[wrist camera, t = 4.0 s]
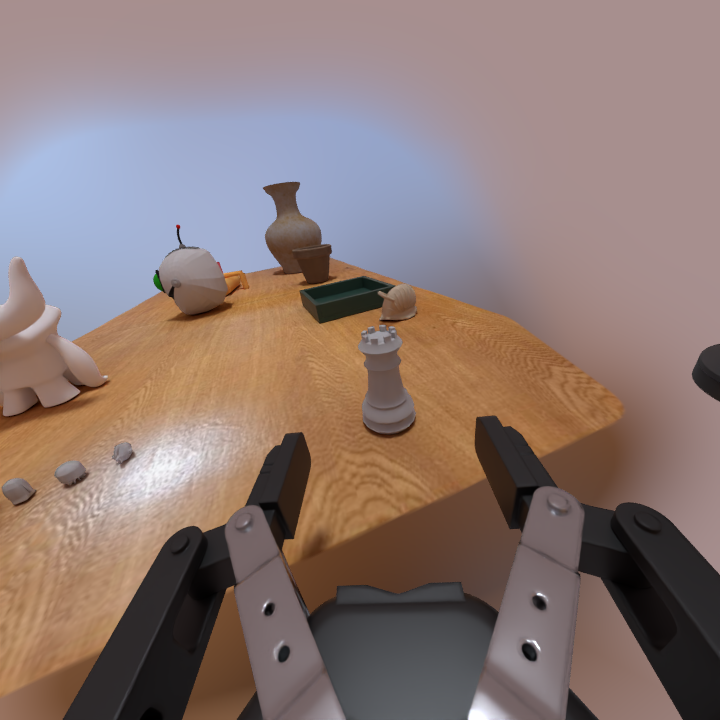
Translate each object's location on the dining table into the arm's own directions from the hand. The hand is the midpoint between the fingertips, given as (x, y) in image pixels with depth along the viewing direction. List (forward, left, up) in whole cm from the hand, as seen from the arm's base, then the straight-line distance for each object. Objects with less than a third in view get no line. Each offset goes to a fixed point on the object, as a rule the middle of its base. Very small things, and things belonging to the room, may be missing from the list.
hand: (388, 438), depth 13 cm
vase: (-16, -111, -6) cm, 112 cm away
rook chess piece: (-4, -8, -6) cm, 11 cm away
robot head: (+17, -70, -6) cm, 72 cm away
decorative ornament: (-17, -30, -6) cm, 35 cm away
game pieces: (+21, -15, -6) cm, 27 cm away
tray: (-13, -45, -6) cm, 47 cm away
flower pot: (-15, -77, -6) cm, 79 cm away
